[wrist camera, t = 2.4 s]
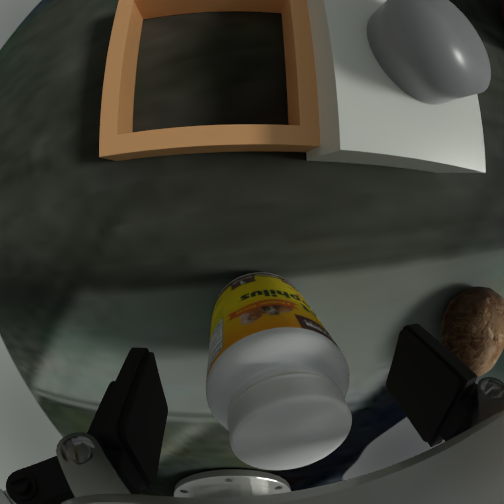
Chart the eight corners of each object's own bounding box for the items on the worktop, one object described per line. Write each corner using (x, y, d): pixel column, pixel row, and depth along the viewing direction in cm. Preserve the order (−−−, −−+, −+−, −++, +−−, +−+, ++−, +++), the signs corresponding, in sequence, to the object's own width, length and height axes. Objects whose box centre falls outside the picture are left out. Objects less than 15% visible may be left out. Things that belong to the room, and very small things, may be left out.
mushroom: (470, 388, 18) (513, 384, 12) (410, 367, 20) (451, 362, 14) (486, 312, 21) (526, 294, 15) (432, 285, 22) (469, 259, 17)
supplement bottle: (315, 284, 17) (406, 383, 7) (281, 358, 18) (325, 482, 8) (228, 255, 16) (236, 355, 6) (201, 336, 17) (186, 471, 7)
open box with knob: (435, 172, 16) (523, 174, 9) (116, 169, 14) (35, 158, 7) (414, 31, 14) (476, -8, 6) (131, 7, 12) (96, -63, 4)
